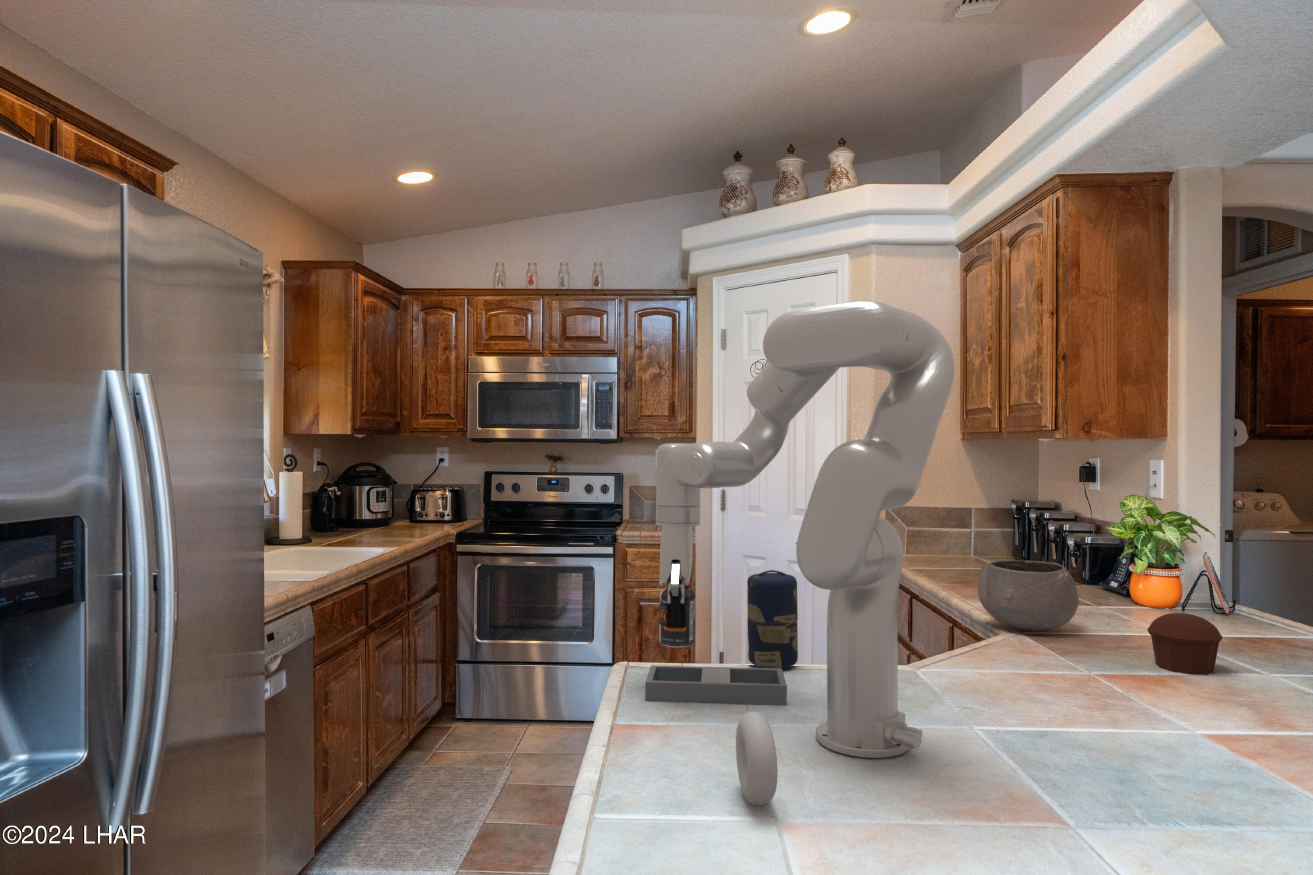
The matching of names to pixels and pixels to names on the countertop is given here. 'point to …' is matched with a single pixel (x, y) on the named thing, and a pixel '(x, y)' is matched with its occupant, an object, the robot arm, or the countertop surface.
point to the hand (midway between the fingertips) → (677, 622)
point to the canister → (772, 619)
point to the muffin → (1185, 643)
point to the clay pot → (1028, 594)
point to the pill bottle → (678, 635)
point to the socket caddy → (716, 685)
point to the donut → (756, 758)
